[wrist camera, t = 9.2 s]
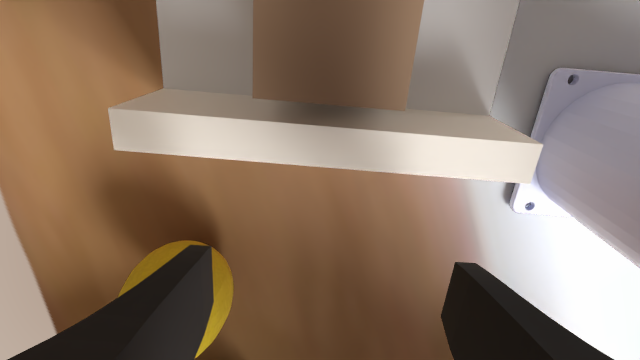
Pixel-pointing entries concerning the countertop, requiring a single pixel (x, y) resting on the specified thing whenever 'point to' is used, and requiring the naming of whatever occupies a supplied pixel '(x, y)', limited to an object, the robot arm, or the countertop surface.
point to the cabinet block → (335, 51)
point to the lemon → (220, 283)
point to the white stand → (331, 120)
